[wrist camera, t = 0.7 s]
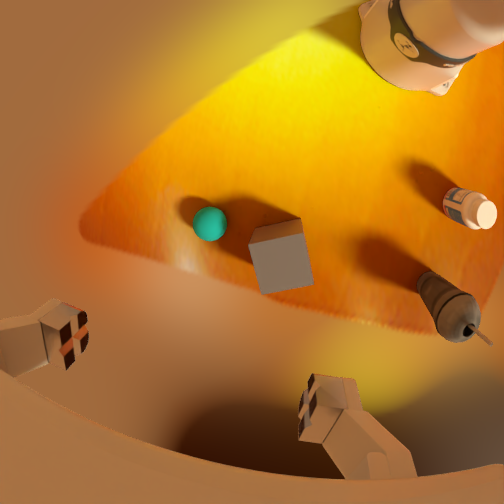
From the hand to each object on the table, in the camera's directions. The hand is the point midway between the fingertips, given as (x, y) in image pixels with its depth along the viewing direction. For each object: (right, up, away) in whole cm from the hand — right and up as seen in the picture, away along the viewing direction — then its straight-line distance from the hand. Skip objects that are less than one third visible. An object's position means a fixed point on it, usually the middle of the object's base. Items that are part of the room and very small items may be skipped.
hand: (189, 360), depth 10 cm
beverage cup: (+32, -2, +37) cm, 49 cm away
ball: (-4, +8, +35) cm, 36 cm away
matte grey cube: (+7, +5, +37) cm, 38 cm away
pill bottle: (+35, +12, +32) cm, 49 cm away
